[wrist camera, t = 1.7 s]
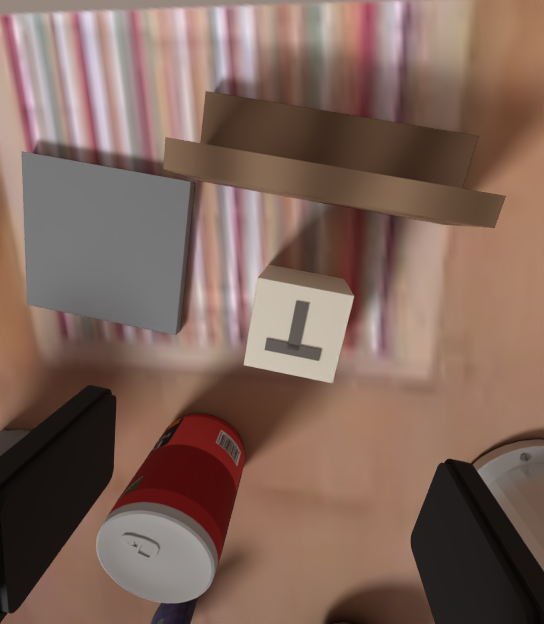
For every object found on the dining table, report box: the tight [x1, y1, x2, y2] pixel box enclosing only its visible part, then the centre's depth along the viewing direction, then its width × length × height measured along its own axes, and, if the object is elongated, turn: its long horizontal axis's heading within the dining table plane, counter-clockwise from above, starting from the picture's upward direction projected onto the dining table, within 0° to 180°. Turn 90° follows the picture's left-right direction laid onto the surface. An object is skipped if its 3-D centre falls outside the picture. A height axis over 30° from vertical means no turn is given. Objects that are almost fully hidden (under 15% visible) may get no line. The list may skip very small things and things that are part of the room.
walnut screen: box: [163, 91, 506, 228], centre depth 21 cm, size 18×6×7 cm, turn 80°
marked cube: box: [244, 265, 354, 383], centre depth 24 cm, size 6×6×6 cm
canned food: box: [96, 413, 245, 603], centre depth 27 cm, size 8×8×11 cm
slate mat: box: [22, 152, 195, 335], centre depth 27 cm, size 13×12×1 cm
